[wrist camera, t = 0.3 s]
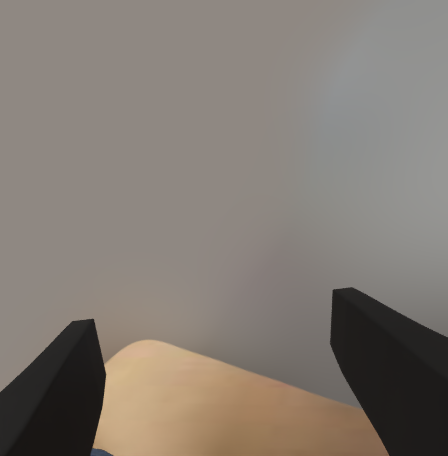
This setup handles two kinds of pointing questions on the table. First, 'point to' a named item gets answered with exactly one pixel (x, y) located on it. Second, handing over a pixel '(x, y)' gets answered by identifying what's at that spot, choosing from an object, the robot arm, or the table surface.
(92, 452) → the bowl
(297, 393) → the table surface
